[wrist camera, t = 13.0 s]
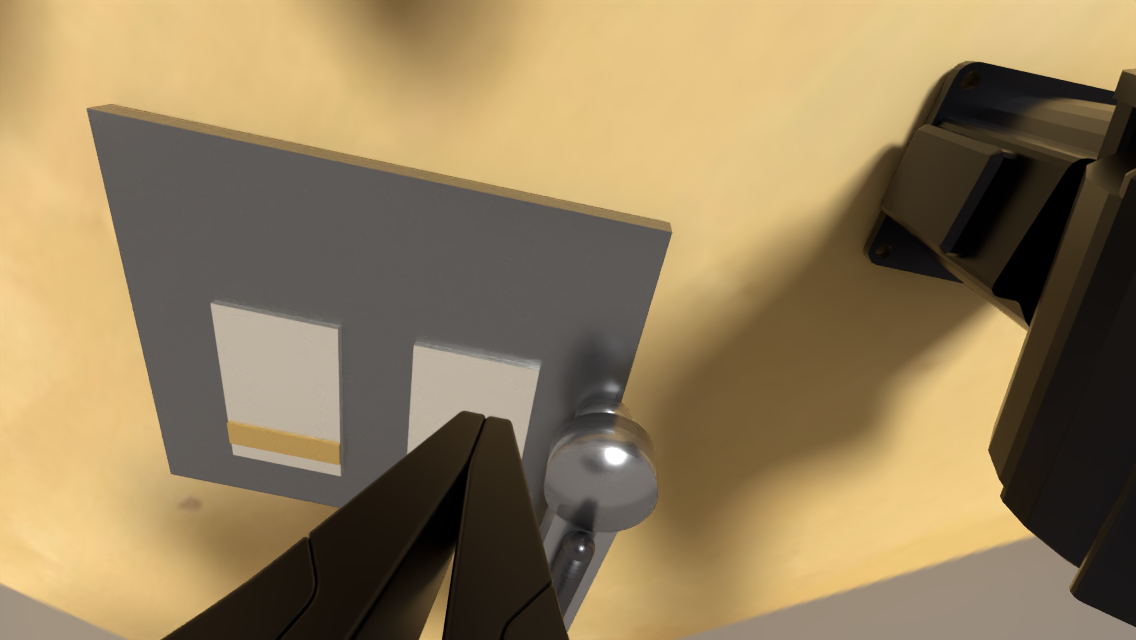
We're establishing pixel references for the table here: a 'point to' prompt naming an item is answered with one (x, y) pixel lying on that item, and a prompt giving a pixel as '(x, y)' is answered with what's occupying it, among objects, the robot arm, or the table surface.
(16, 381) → the table surface
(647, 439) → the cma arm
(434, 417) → the panel
